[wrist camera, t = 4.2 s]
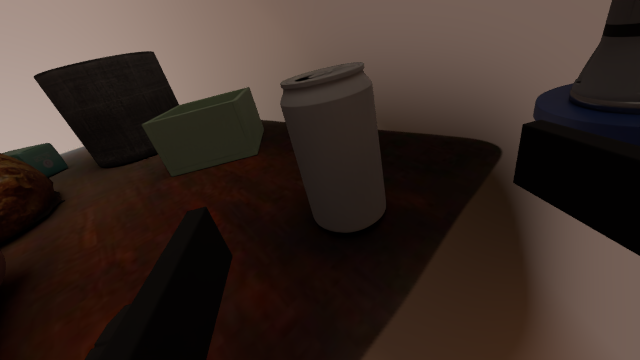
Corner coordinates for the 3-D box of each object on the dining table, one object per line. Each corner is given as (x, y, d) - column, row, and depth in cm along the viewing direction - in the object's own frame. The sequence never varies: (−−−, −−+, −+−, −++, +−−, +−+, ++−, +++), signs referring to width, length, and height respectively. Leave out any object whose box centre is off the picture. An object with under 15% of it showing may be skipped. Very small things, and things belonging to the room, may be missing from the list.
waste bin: (264, 129, 54) (249, 86, 50) (257, 154, 41) (236, 99, 37) (198, 146, 54) (178, 105, 50) (171, 177, 41) (141, 124, 37)
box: (41, 181, 59) (16, 152, 56) (-1, 189, 62) (-28, 162, 58) (70, 167, 66) (49, 140, 62) (31, 175, 68) (9, 150, 65)
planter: (85, 166, 63) (22, 82, 53) (166, 132, 78) (129, 63, 69) (122, 171, 51) (50, 65, 41) (209, 130, 66) (171, 46, 57)
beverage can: (318, 198, 26) (284, 75, 20) (382, 189, 24) (365, 55, 19) (311, 243, 20) (261, 91, 15) (393, 234, 19) (373, 64, 13)
